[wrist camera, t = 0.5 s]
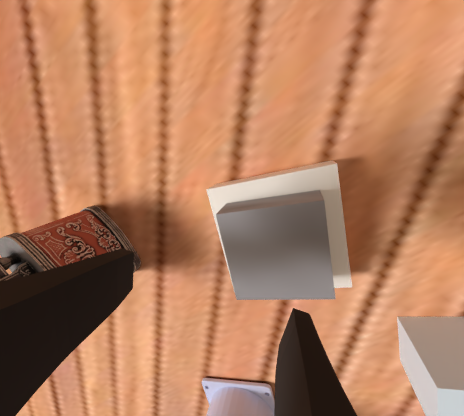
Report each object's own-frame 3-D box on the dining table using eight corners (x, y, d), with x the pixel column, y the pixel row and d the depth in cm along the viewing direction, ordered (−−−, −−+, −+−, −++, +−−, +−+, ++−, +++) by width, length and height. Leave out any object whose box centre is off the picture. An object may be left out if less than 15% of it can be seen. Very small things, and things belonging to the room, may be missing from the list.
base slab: (344, 268, 18) (352, 287, 16) (241, 274, 21) (234, 291, 19) (331, 159, 16) (337, 163, 14) (217, 182, 19) (206, 189, 17)
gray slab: (329, 275, 16) (335, 299, 14) (243, 278, 18) (236, 299, 16) (319, 189, 15) (324, 200, 12) (226, 203, 17) (215, 214, 14)
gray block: (467, 363, 17) (537, 456, 12) (399, 360, 19) (438, 442, 14) (468, 316, 16) (546, 397, 11) (396, 316, 18) (437, 388, 13)
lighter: (79, 216, 23) (-60, 268, 14) (97, 199, 22) (-44, 244, 13) (127, 275, 24) (25, 361, 15) (147, 263, 23) (48, 348, 14)
